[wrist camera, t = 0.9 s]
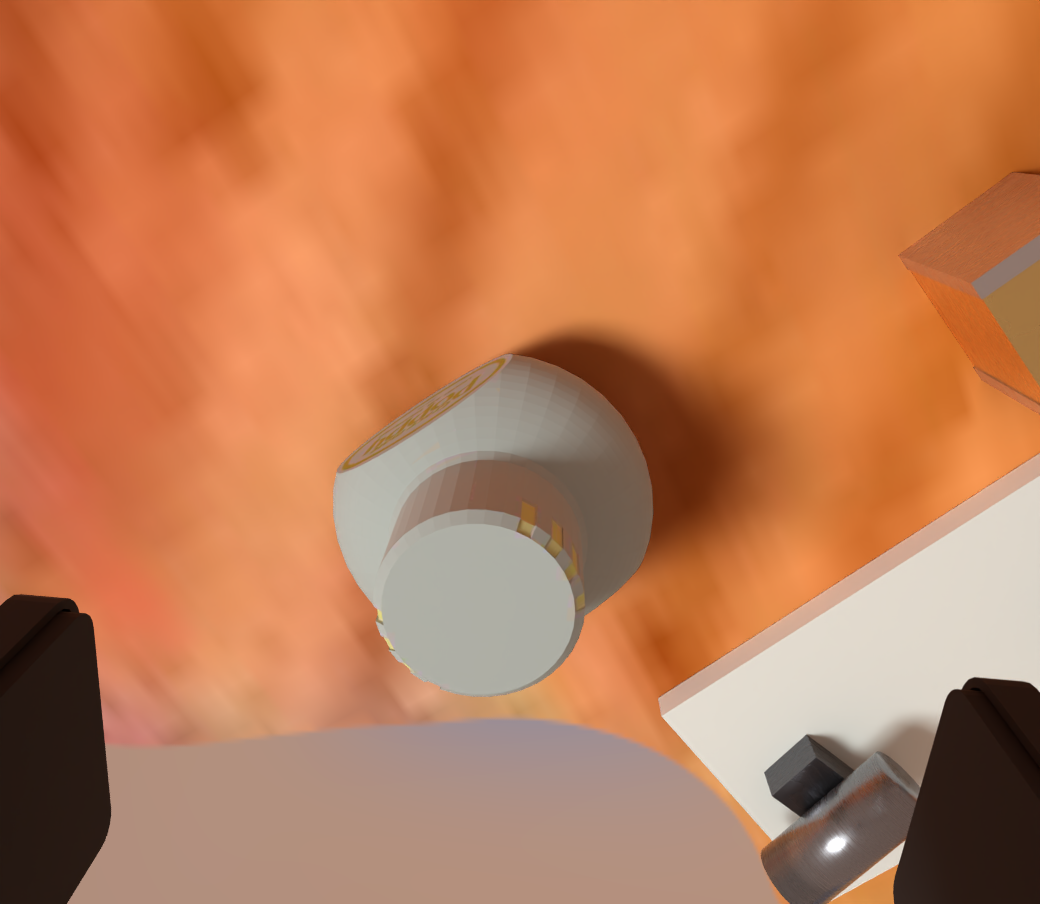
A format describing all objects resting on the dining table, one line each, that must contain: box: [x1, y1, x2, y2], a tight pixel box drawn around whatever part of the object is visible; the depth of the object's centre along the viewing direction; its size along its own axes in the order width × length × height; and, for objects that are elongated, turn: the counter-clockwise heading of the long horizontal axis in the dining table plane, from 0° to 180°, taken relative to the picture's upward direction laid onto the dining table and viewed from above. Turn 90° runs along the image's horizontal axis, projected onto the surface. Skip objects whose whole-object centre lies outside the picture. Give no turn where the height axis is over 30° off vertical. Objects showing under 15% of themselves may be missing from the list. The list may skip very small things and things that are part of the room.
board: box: [658, 453, 1040, 901], centre depth 36 cm, size 21×12×1 cm, turn 129°
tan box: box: [898, 172, 1040, 415], centre depth 29 cm, size 6×4×6 cm
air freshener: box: [333, 354, 653, 697], centre depth 30 cm, size 11×8×10 cm
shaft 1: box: [761, 734, 920, 904], centre depth 35 cm, size 6×4×4 cm
